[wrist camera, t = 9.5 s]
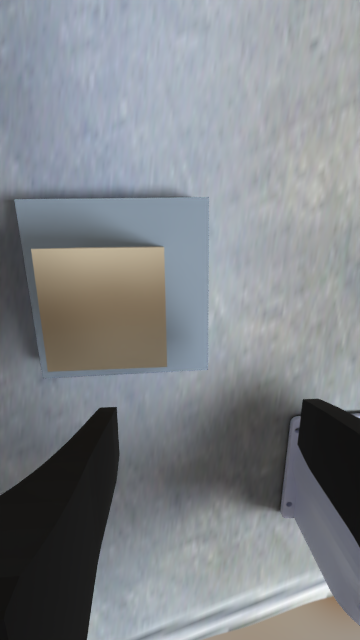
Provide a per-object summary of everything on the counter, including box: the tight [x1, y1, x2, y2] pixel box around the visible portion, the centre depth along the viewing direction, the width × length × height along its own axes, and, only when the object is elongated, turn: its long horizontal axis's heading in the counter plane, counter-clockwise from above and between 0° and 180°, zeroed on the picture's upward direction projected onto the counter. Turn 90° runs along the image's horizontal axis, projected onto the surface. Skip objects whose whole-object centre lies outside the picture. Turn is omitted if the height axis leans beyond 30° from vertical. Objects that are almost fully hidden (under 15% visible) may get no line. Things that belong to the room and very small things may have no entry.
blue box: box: [14, 197, 209, 378], centre depth 18 cm, size 10×10×3 cm
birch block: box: [31, 246, 167, 372], centre depth 13 cm, size 4×4×6 cm
